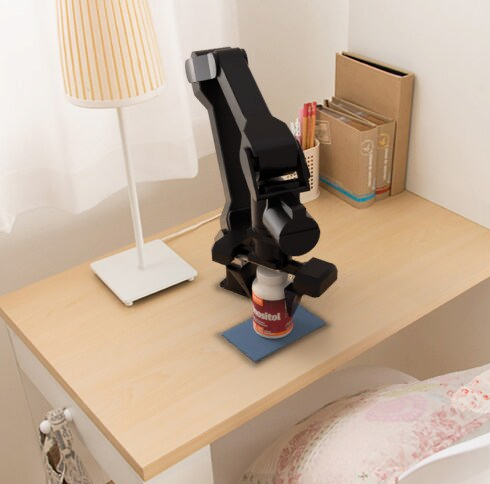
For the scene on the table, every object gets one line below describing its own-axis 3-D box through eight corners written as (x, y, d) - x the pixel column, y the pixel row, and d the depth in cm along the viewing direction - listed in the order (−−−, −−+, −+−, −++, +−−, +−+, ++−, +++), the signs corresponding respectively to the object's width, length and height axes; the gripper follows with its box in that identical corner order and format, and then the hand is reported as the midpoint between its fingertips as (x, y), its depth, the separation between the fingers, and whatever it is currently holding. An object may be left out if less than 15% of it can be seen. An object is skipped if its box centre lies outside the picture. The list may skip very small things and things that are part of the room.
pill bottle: (246, 333, 114) (243, 273, 108) (264, 311, 119) (263, 253, 113) (282, 345, 112) (281, 284, 106) (300, 322, 116) (300, 262, 110)
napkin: (255, 362, 110) (255, 360, 109) (221, 335, 115) (221, 333, 115) (325, 324, 117) (325, 322, 116) (291, 300, 122) (291, 298, 122)
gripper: (358, 212, 106) (353, 301, 115) (250, 180, 114) (253, 265, 123) (318, 248, 98) (316, 340, 107) (205, 211, 107) (212, 299, 116)
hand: (273, 308), depth 113 cm, fingers closed on pill bottle, 6 cm apart
